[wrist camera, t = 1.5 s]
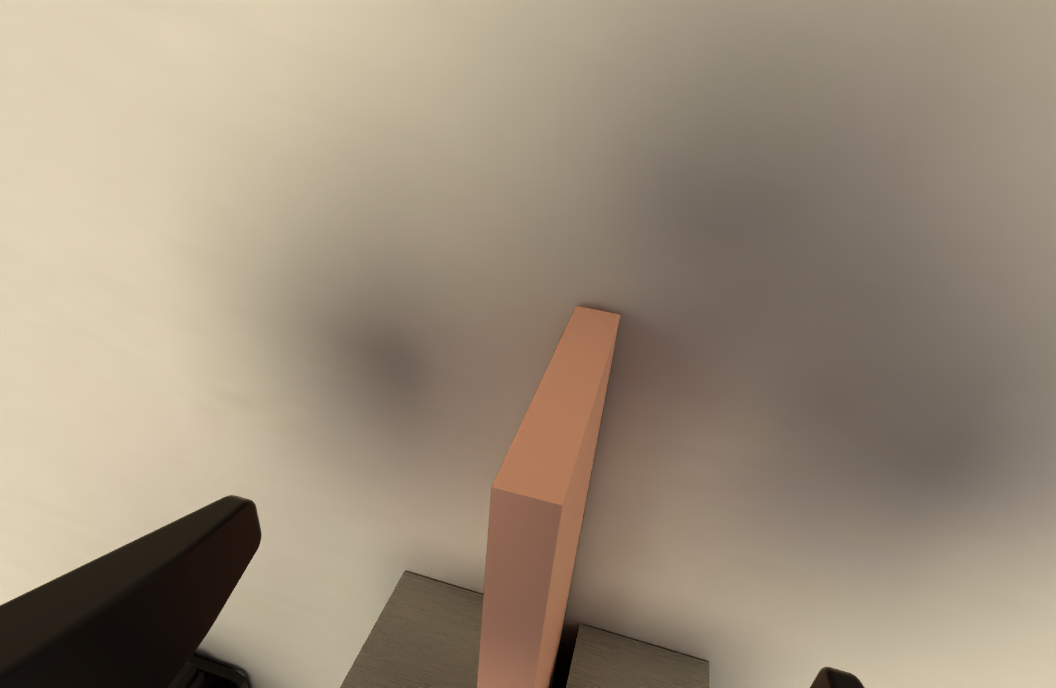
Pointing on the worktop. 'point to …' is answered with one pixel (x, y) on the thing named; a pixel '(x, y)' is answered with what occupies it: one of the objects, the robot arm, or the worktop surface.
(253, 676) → the worktop surface
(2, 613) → the robot arm
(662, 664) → the grey upright box
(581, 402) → the salmon pink plank
